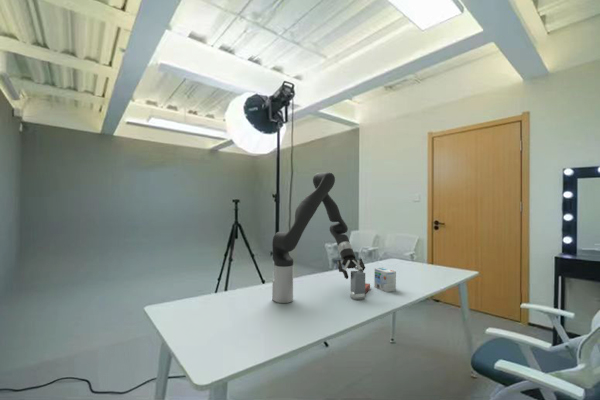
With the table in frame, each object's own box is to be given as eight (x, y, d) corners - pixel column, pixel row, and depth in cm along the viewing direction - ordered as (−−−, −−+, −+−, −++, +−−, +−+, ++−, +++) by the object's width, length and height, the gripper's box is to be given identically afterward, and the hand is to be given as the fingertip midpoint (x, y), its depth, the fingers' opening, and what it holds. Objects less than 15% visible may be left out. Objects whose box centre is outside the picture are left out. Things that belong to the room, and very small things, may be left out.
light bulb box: (373, 286, 163) (374, 268, 163) (383, 285, 166) (383, 267, 166) (386, 292, 153) (387, 272, 153) (396, 290, 156) (396, 271, 156)
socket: (355, 294, 140) (355, 273, 140) (350, 290, 145) (350, 271, 145) (365, 293, 141) (365, 273, 141) (360, 290, 146) (360, 270, 147)
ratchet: (362, 301, 138) (362, 286, 138) (348, 298, 142) (349, 284, 142) (373, 288, 159) (373, 276, 159) (361, 287, 162) (361, 274, 162)
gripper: (336, 248, 154) (344, 274, 142) (360, 247, 157) (370, 273, 146) (332, 256, 159) (340, 282, 147) (356, 255, 162) (365, 280, 151)
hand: (355, 277), depth 147 cm, fingers open, 8 cm apart
